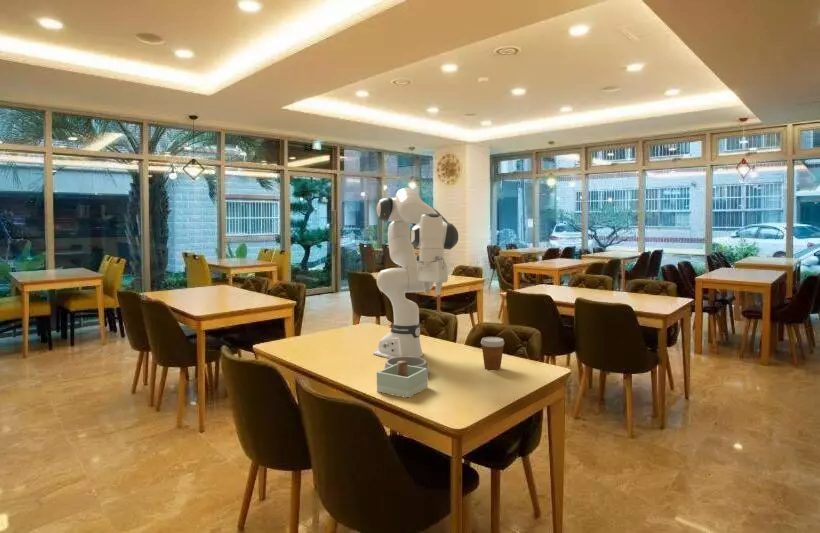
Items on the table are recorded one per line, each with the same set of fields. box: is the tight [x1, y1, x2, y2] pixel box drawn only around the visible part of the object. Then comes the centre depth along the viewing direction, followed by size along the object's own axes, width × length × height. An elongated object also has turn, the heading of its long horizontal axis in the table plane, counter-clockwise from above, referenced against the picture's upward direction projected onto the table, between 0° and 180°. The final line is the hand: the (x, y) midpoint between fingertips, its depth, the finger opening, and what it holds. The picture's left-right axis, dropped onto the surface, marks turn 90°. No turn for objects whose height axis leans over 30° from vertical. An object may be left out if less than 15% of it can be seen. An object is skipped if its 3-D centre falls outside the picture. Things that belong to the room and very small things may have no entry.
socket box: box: [376, 364, 429, 398], centre depth 186 cm, size 13×13×7 cm
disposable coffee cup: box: [480, 336, 506, 371], centre depth 210 cm, size 10×10×12 cm
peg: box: [397, 361, 408, 377], centre depth 186 cm, size 4×4×10 cm
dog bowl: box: [383, 356, 430, 377], centre depth 205 cm, size 17×18×5 cm
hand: (432, 294), depth 194 cm, fingers open, 8 cm apart
